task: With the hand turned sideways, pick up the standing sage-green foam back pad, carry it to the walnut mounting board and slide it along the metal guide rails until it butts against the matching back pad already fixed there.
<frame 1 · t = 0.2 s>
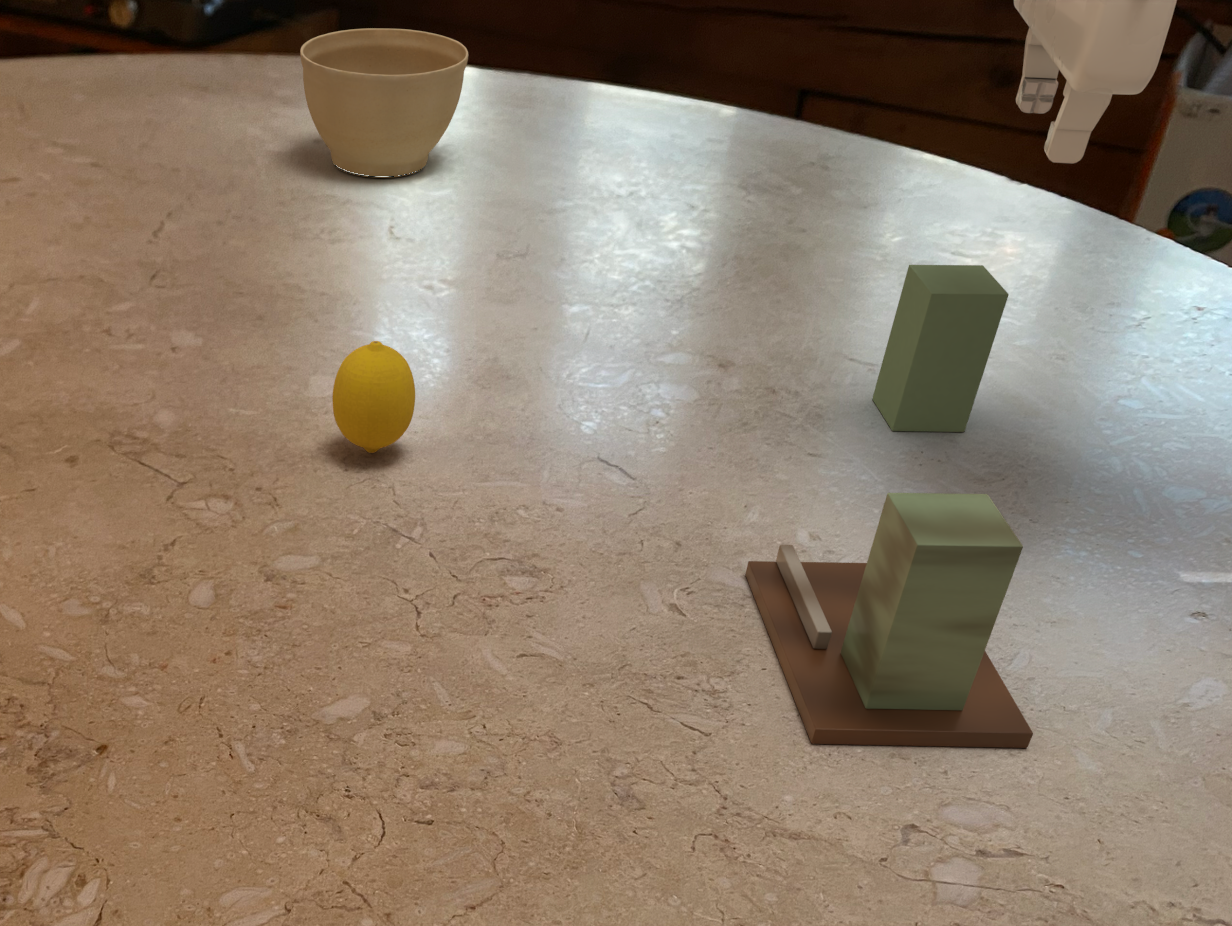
hand: (1045, 133, 85), 22 cm above the table, tool pointing down, fingers open, 8 cm apart
lemon: (371, 454, 100), on the table
mount board: (880, 665, 81), on the table
back pad: (917, 415, 104), on the table
planter bowl: (379, 166, 147), on the table
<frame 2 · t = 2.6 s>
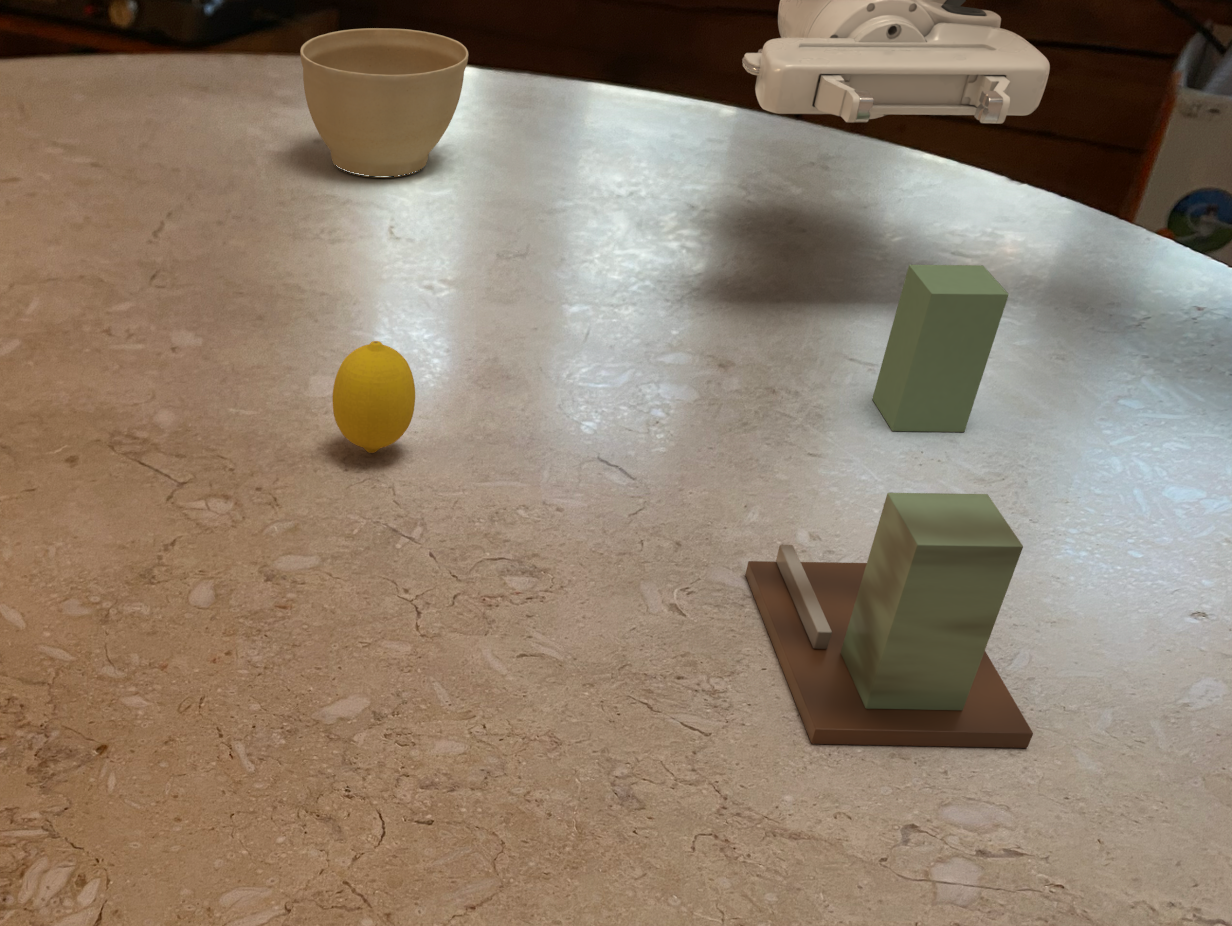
hand: (929, 111, 102), 17 cm above the table, tool horizontal, fingers open, 8 cm apart
nothing on the table moved.
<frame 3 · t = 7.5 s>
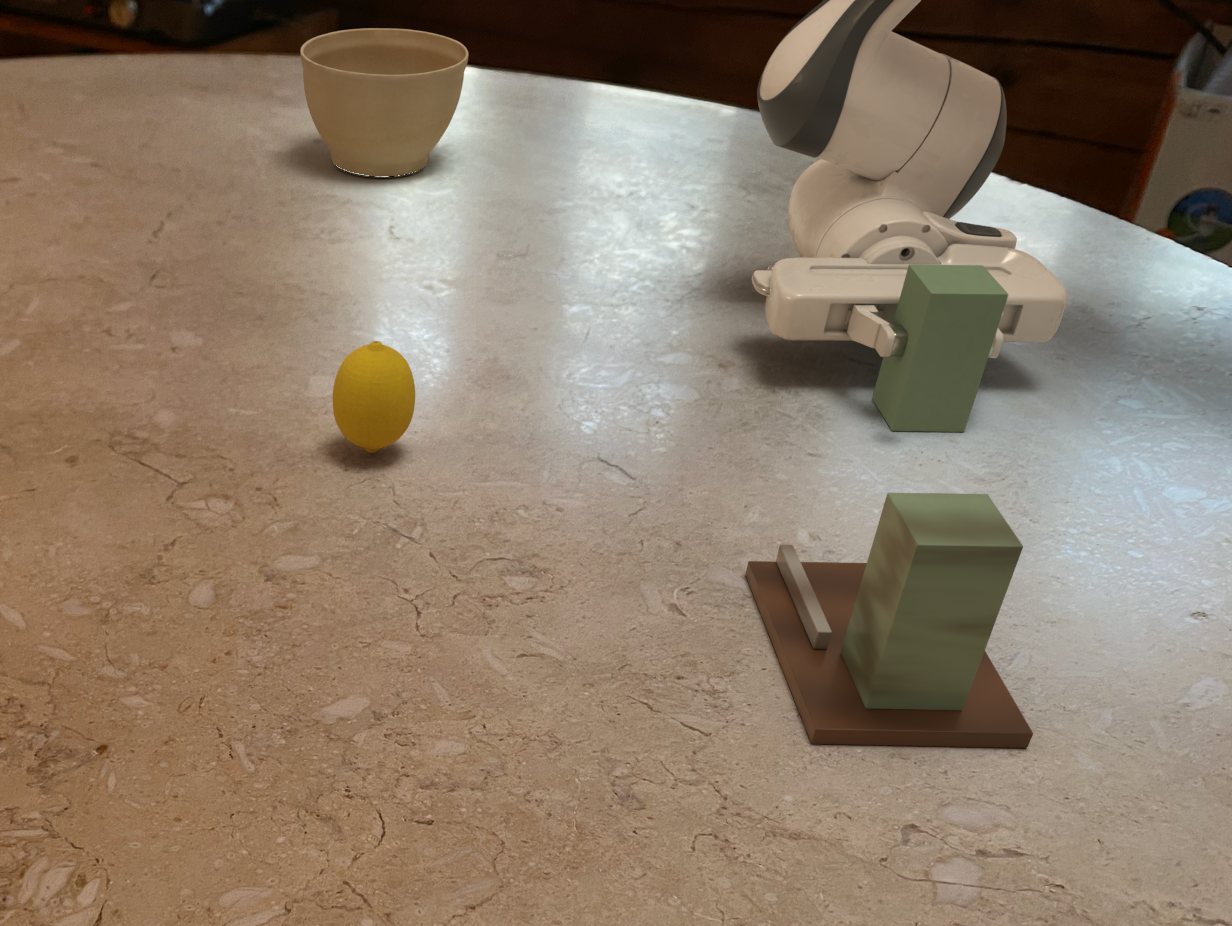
hand: (943, 347, 100), 6 cm above the table, tool horizontal, fingers closed on back pad, 5 cm apart
back pad: (917, 415, 104), on the table, touching gripper
everything else where it was.
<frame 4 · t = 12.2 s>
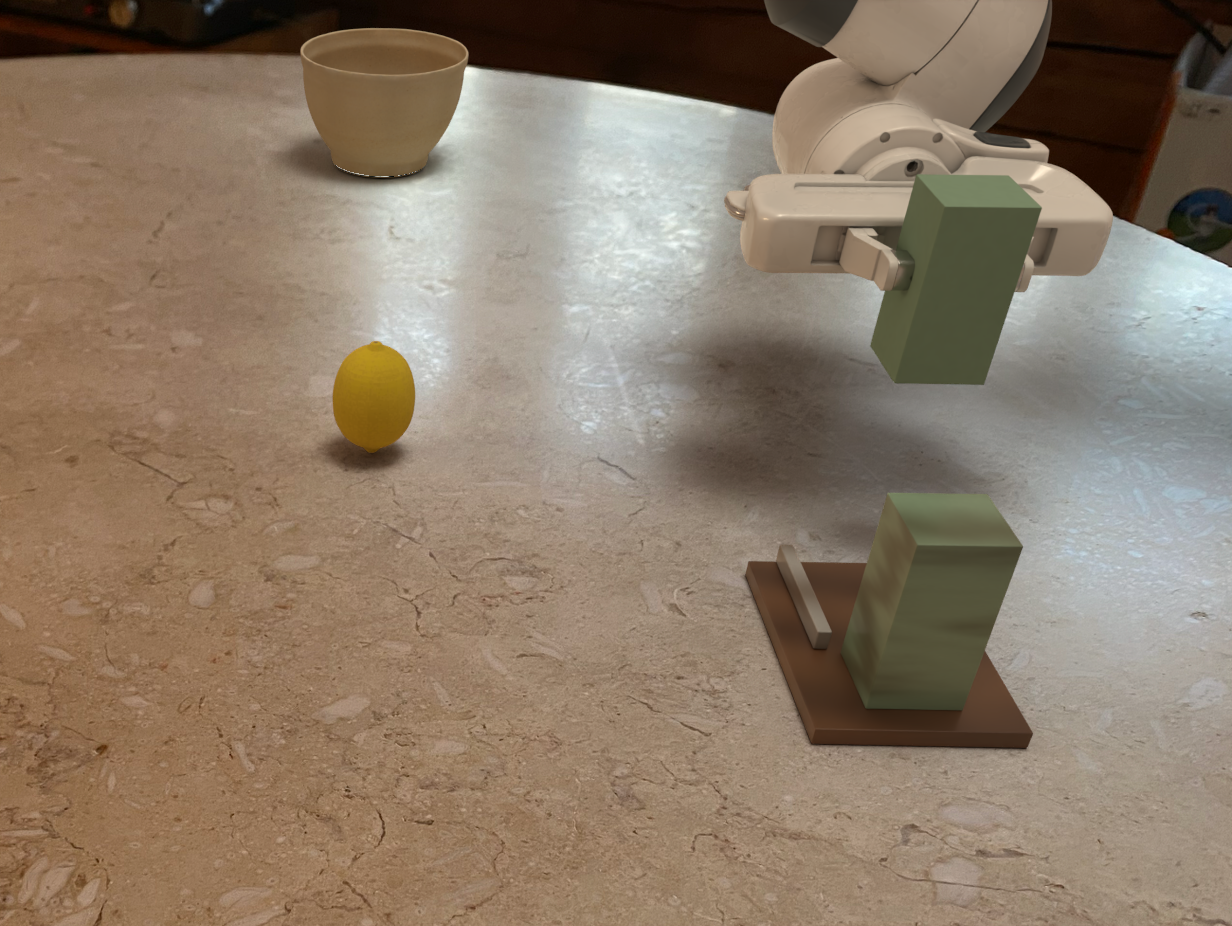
hand: (959, 278, 80), 17 cm above the table, tool horizontal, fingers closed on back pad, 5 cm apart
back pad: (925, 365, 84), point 11 cm above the table, touching gripper
everything else where it was.
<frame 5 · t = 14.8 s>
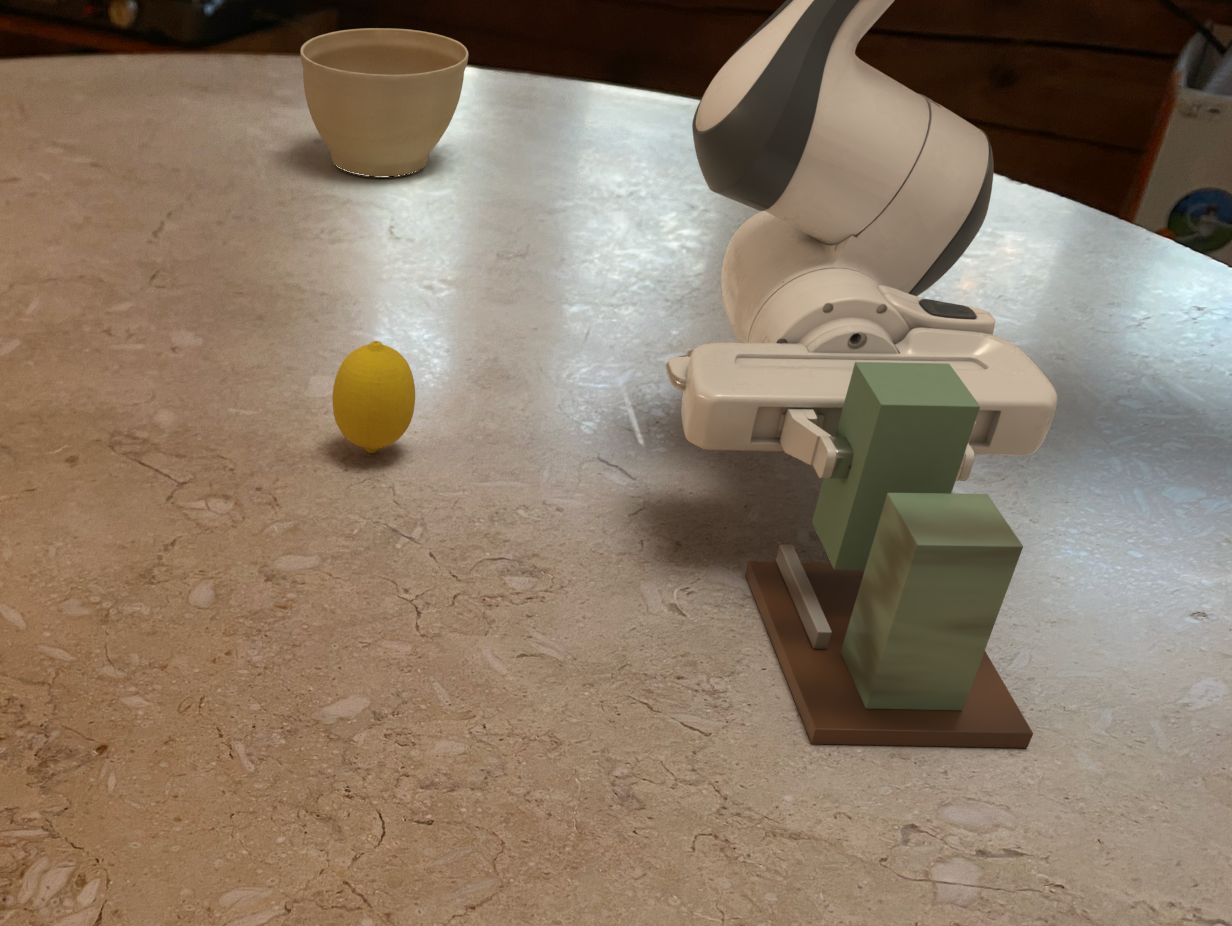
hand: (898, 468, 78), 10 cm above the table, tool horizontal, fingers closed on back pad, 5 cm apart
back pad: (866, 546, 82), point 4 cm above the table, touching gripper
everything else where it was.
when the fingers open (6 cm above the table, at t = 16.8 s): back pad stays where it is, resting on mount board.
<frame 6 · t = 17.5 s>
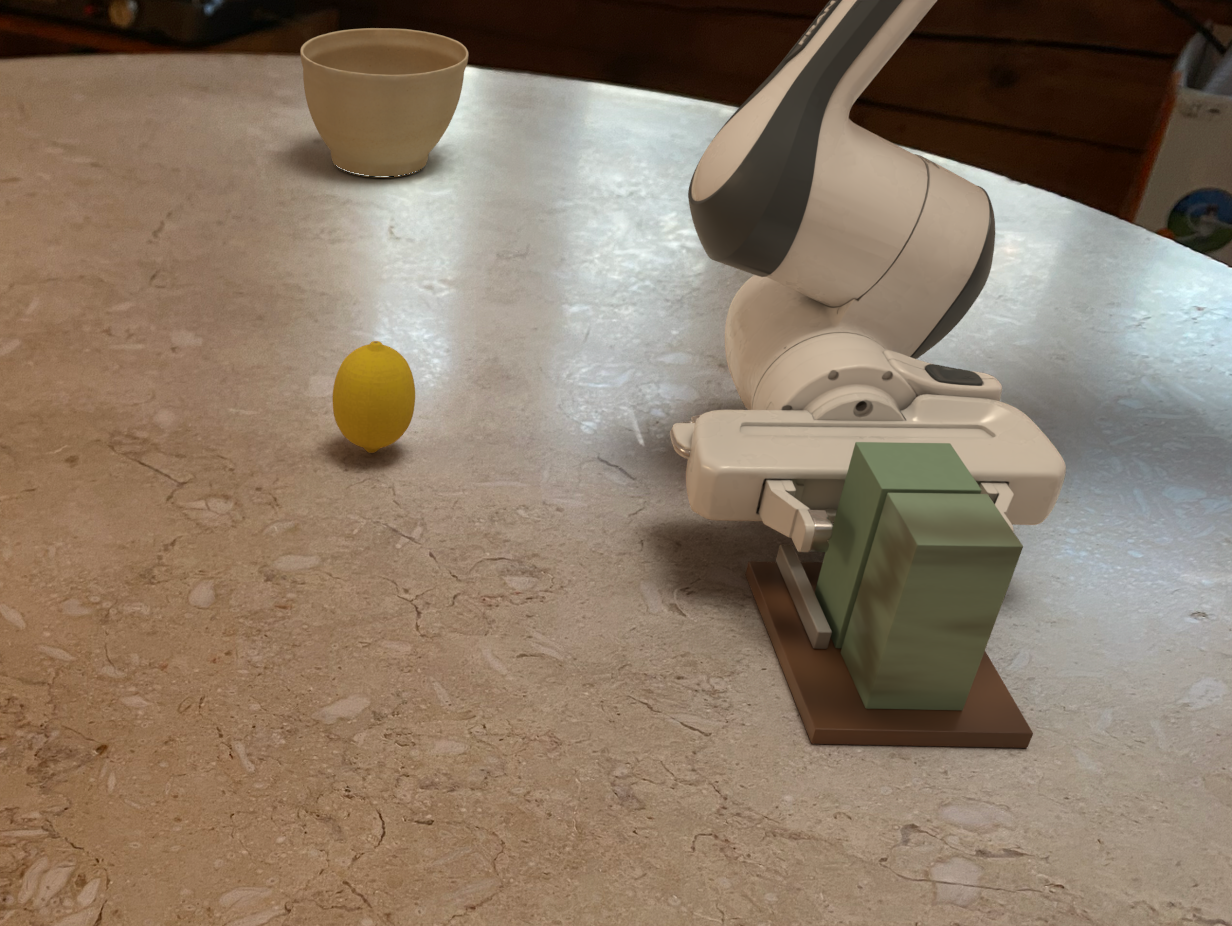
hand: (906, 542, 77), 7 cm above the table, tool horizontal, fingers open, 8 cm apart
back pad: (868, 623, 82), point 1 cm above the table, touching mount board
everything else where it was.
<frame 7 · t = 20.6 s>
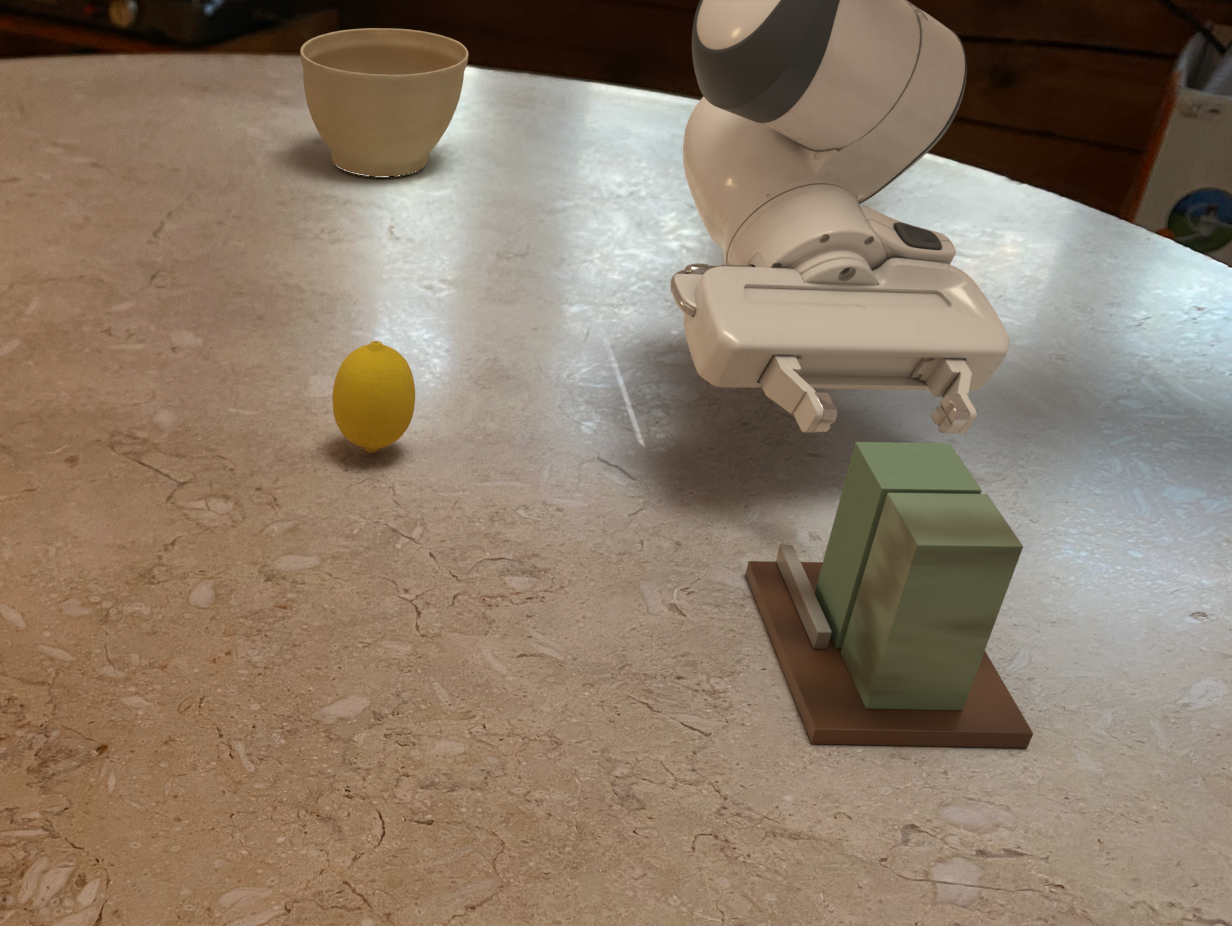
hand: (891, 425, 87), 7 cm above the table, tool tilted 70°, fingers open, 8 cm apart
nothing on the table moved.
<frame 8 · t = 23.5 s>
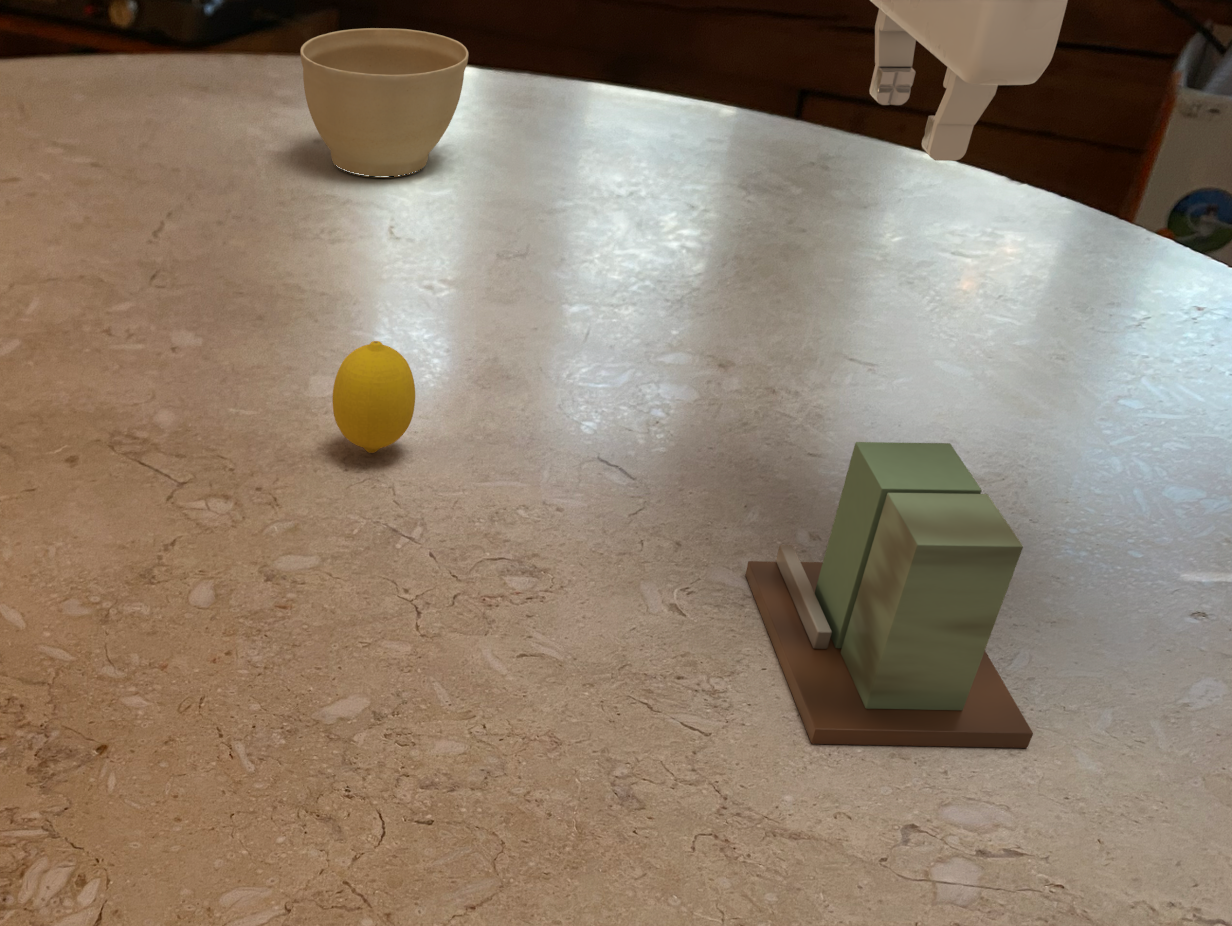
hand: (912, 127, 78), 24 cm above the table, tool pointing down, fingers open, 8 cm apart
nothing on the table moved.
at the end: back pad 0.2 cm from the target spot on the mount board, point 1.0 cm above the mount board's base; back pad tilted 0°; the gripper is holding nothing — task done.
